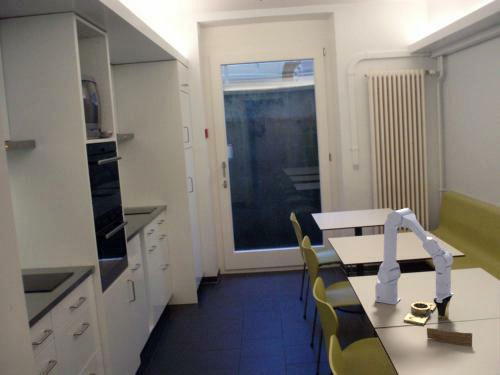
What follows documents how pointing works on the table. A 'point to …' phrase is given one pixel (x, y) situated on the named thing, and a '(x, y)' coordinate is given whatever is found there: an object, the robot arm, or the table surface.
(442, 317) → the hinge pin
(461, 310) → the table surface
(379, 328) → the table surface
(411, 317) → the hinge
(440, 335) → the wood plank
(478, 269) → the table surface
